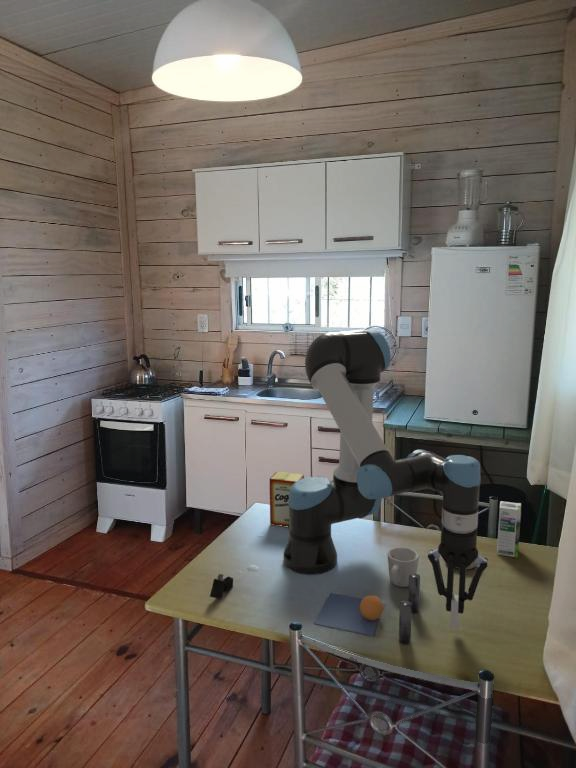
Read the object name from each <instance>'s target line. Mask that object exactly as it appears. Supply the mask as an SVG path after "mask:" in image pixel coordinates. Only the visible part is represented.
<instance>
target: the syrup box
mask: <svg viewBox="0 0 576 768" xmlns="http://www.w3.org/2000/svg"><path fill="white" fill-rule="evenodd" d="M498 512H499V514H498V516H499V517H498V531H497V543H496V544H497V545H496V555H498V556H505V557H511V558H512V557H513V558H516V559H517V558H518V557H519V545H520V544H519V543H520V531H521V530H520V528H521V517H522V503H521V502H510V501H502V500H501V501H499V511H498Z"/></svg>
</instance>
